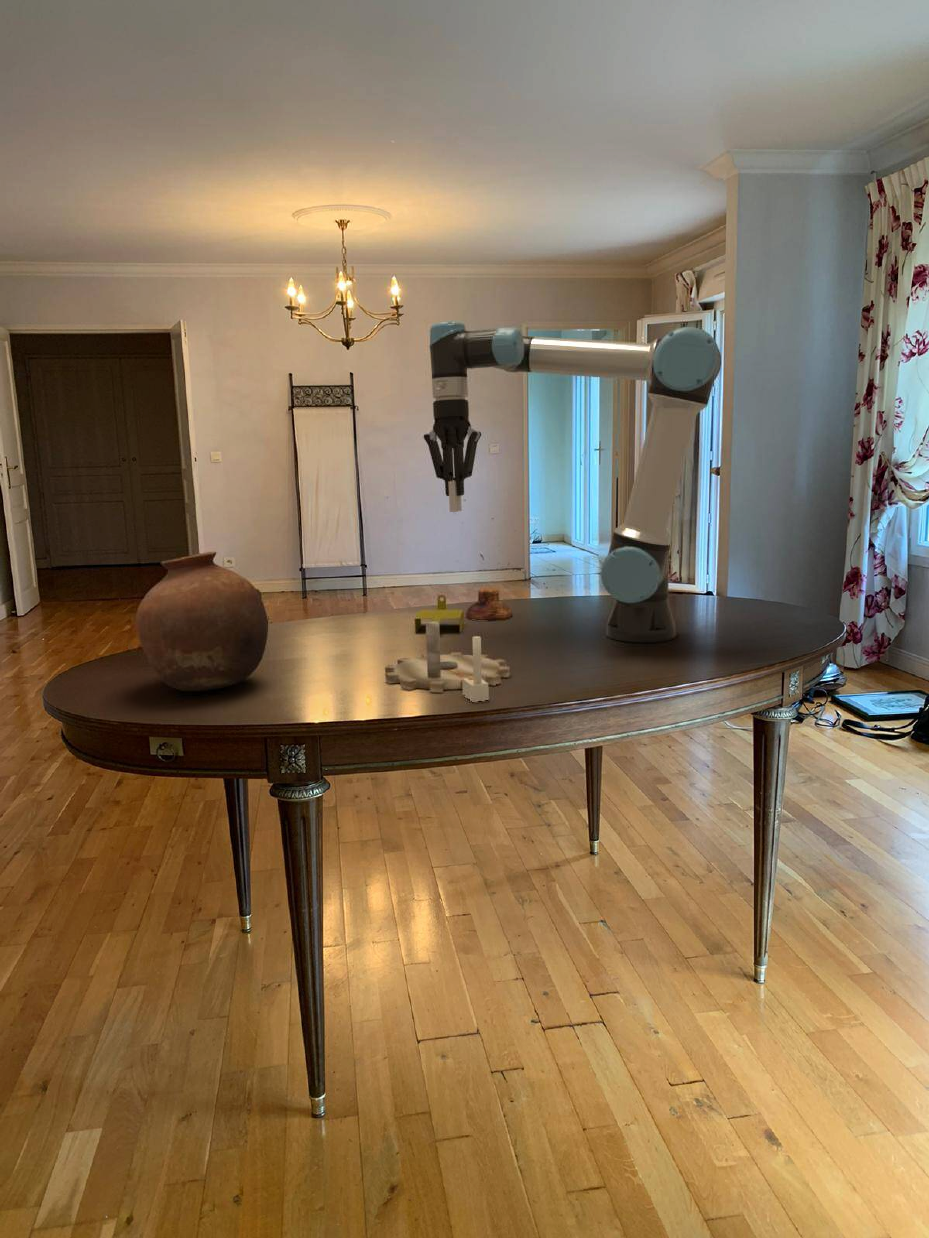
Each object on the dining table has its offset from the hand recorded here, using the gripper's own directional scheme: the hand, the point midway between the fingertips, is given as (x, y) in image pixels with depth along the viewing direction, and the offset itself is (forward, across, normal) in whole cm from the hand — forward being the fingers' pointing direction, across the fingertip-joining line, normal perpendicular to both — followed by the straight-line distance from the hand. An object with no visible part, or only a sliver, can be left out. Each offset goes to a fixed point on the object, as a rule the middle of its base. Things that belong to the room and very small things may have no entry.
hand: (455, 511), depth 190 cm
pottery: (+28, -27, -51) cm, 64 cm away
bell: (+29, -6, +27) cm, 40 cm away
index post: (+29, +22, -39) cm, 53 cm away
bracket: (+29, -10, +8) cm, 32 cm away
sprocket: (+29, +11, -28) cm, 41 cm away
